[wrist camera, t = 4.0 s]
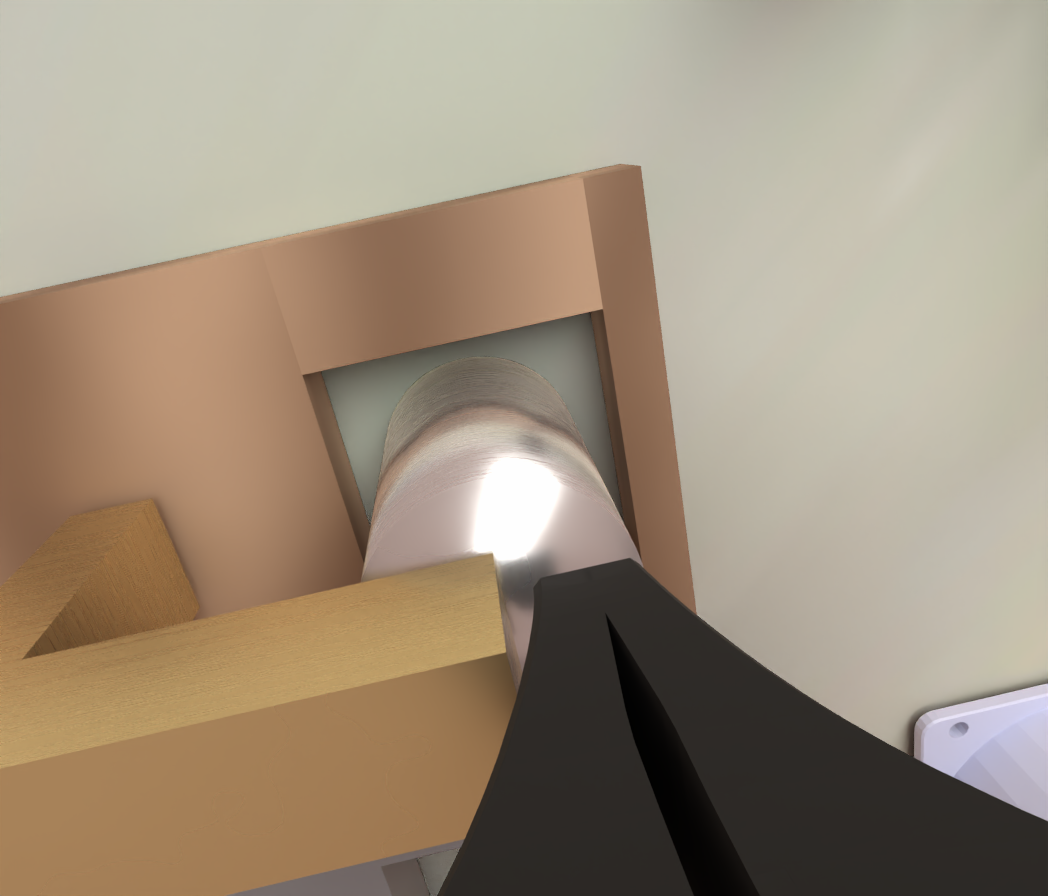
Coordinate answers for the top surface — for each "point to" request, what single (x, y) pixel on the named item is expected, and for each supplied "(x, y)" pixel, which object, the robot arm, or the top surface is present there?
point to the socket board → (317, 379)
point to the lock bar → (235, 718)
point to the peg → (491, 484)
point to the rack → (361, 878)
